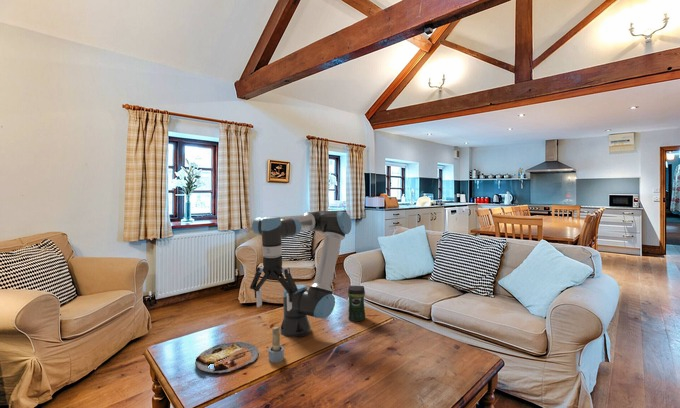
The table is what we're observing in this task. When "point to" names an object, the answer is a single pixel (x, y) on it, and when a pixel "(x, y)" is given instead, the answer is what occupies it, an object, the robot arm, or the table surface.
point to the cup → (276, 355)
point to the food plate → (223, 356)
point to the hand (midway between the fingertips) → (274, 307)
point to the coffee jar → (356, 303)
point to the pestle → (276, 339)
